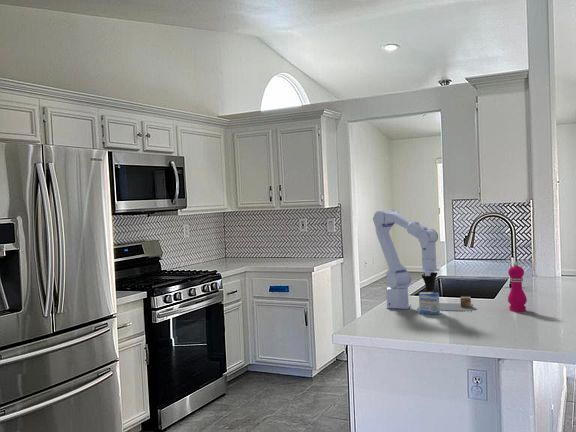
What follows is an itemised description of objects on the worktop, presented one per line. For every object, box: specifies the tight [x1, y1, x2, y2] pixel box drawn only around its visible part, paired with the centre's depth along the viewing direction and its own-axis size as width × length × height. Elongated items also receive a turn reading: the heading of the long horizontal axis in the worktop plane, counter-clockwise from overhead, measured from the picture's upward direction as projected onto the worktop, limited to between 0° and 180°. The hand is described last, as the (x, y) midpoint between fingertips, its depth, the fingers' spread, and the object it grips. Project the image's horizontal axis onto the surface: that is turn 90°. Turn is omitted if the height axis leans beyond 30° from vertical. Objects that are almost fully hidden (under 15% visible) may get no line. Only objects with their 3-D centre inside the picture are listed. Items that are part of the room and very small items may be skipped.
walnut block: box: [460, 296, 472, 308], centre depth 230 cm, size 4×4×4 cm
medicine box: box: [418, 291, 441, 315], centre depth 221 cm, size 8×4×9 cm, turn 69°
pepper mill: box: [507, 261, 528, 313], centre depth 219 cm, size 7×7×20 cm
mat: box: [416, 302, 473, 312], centre depth 232 cm, size 22×15×1 cm
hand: (430, 290), depth 222 cm, fingers open, 4 cm apart
